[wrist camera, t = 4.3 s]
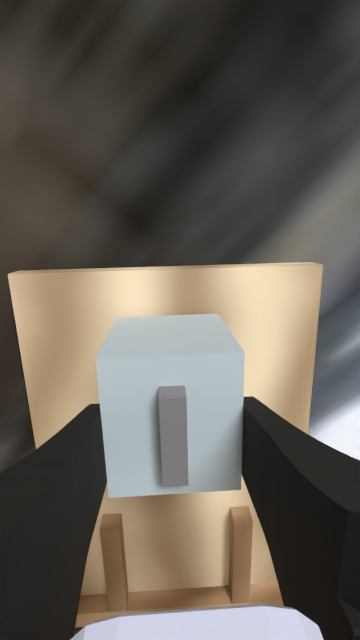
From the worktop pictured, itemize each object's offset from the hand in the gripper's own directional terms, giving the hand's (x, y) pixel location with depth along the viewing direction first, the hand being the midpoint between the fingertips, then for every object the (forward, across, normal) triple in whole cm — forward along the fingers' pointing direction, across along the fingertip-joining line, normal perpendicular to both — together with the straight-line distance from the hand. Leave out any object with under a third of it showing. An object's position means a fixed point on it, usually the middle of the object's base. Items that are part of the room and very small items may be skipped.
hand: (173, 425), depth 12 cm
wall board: (+6, 0, +5) cm, 8 cm away
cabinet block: (+4, 0, 0) cm, 4 cm away
